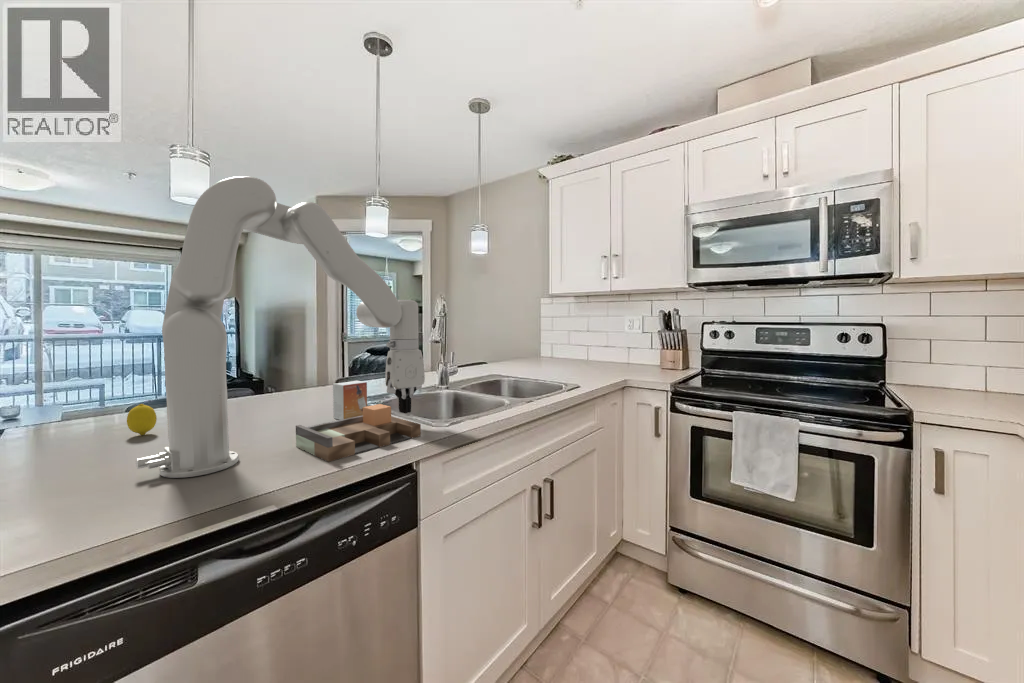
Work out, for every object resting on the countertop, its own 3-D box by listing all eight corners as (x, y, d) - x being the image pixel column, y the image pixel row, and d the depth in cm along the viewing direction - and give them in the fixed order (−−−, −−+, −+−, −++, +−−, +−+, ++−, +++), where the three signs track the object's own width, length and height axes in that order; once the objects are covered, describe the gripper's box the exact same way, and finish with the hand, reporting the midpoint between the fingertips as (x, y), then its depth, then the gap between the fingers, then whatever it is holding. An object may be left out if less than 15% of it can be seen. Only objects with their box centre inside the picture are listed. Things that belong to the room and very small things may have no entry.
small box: (343, 421, 116) (342, 385, 116) (332, 418, 120) (332, 383, 119) (368, 416, 123) (367, 381, 122) (357, 413, 126) (356, 379, 125)
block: (374, 425, 101) (373, 410, 100) (363, 422, 104) (362, 407, 104) (391, 421, 105) (391, 406, 104) (380, 418, 108) (379, 403, 107)
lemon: (143, 438, 99) (141, 406, 99) (121, 438, 99) (119, 406, 99) (163, 432, 105) (161, 401, 104) (142, 431, 105) (140, 401, 104)
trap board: (328, 461, 84) (327, 438, 84) (296, 446, 94) (295, 425, 93) (420, 435, 103) (420, 416, 103) (386, 425, 112) (386, 407, 112)
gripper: (388, 347, 102) (389, 419, 103) (434, 344, 113) (435, 409, 114) (371, 346, 106) (373, 415, 107) (417, 343, 118) (418, 405, 119)
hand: (405, 412), depth 111 cm, fingers closed
